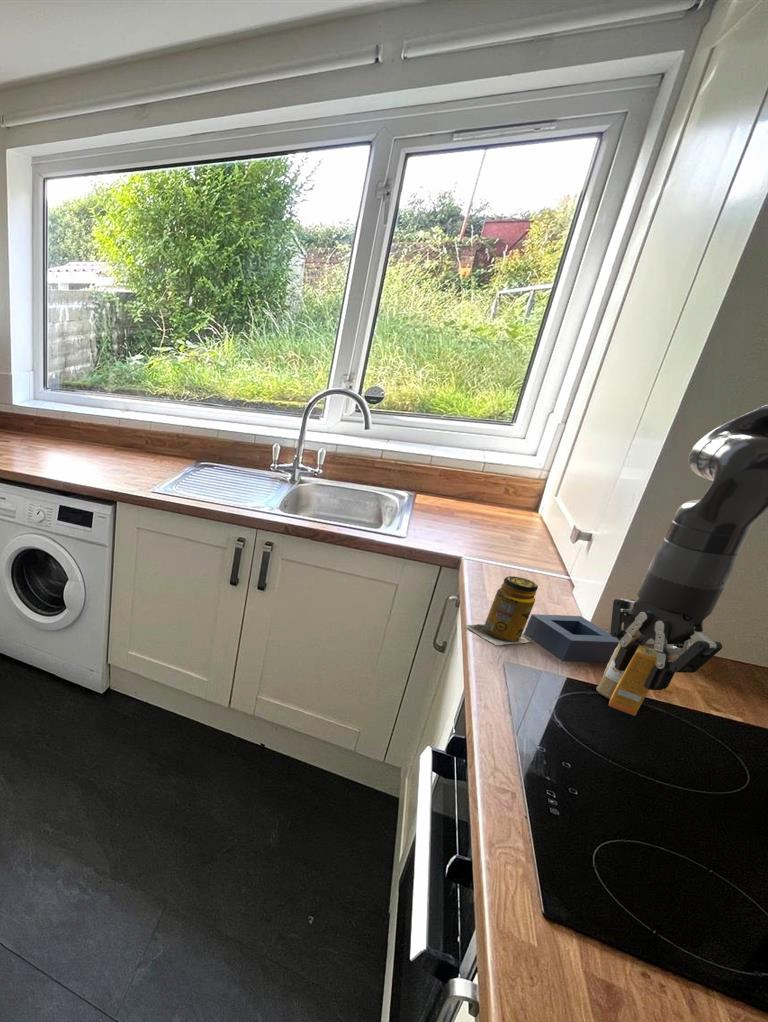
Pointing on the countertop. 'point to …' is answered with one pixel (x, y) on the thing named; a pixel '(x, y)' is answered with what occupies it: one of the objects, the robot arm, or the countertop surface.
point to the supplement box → (634, 681)
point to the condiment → (508, 612)
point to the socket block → (571, 638)
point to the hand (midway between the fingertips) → (637, 678)
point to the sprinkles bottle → (614, 673)
